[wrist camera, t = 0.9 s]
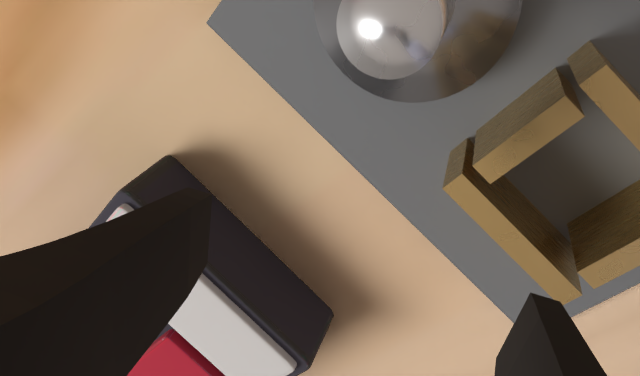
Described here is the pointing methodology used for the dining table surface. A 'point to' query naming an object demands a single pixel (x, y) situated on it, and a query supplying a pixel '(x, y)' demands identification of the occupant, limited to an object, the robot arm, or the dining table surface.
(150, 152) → the dining table surface
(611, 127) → the mat
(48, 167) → the dining table surface
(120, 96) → the dining table surface
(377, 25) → the silver disc with post
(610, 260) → the bronze square frame
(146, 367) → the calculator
